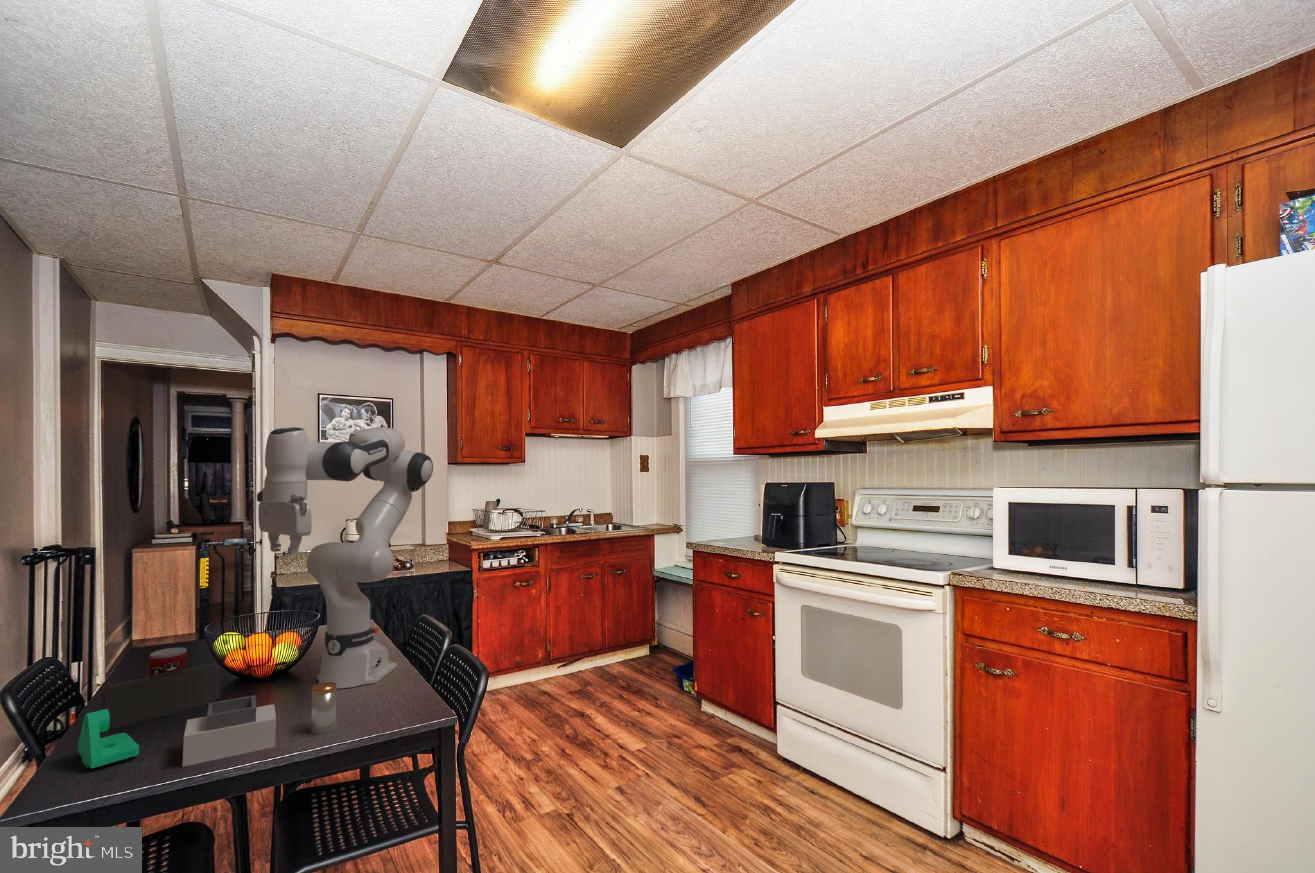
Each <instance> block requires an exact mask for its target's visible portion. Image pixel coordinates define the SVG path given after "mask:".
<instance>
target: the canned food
mask: <svg viewBox="0 0 1315 873" xmlns="http://www.w3.org/2000/svg"><path fill="white" fill-rule="evenodd" d="M148 660H149V661H148V662H149V663H148V676H151V675H155V674H160V673H165V672H169V671H174V670H179V669H184V668H187V648H186V647H169V648H162V649H159V650H156V651H153V652H151V653H150V654H149V659H148Z"/></svg>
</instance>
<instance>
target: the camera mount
mask: <svg viewBox="0 0 1315 873" xmlns="http://www.w3.org/2000/svg"><path fill="white" fill-rule="evenodd" d="M109 725H110V716H109V711H108V709H104V710H102V709H99V710H97V711H92V712H87V713H85V714H84V717H83V721H82V725H81V730H80V734H79V739H78V742H77V752H78V754H79V755H80V756H81V762H82V764H83V765H84V767H86V768H87V769H89V768H90V769H94V768H98V767H102V766H104V765H105V766H106V765H108V764H113V763H115V762H119V761H123V760H126V759H129V758H132V757H136V756H139V754H140V745H139V744H138V743H137V742H136V741H135V740H134V739H133V738H132V737H131V736H130V735H129V734H128V733H127V732H121V733H120V732H119V733H116V734H111V735H108V736H104V737H101V734H100V733H104V732H108V731H109V730H110V729H109Z"/></svg>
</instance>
